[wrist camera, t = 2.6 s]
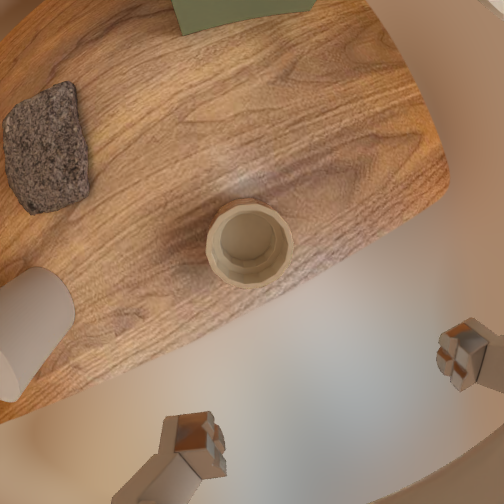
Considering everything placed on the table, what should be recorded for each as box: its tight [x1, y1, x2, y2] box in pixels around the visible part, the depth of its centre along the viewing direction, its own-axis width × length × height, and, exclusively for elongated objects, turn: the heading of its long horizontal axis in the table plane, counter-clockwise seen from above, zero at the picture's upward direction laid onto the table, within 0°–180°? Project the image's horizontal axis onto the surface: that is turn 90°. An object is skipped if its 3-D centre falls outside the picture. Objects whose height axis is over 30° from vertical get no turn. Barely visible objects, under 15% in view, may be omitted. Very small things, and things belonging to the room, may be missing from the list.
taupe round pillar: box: [0, 267, 75, 402], centre depth 20 cm, size 8×8×12 cm
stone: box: [2, 81, 89, 215], centre depth 19 cm, size 12×9×4 cm
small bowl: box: [205, 198, 294, 289], centre depth 23 cm, size 6×6×4 cm
